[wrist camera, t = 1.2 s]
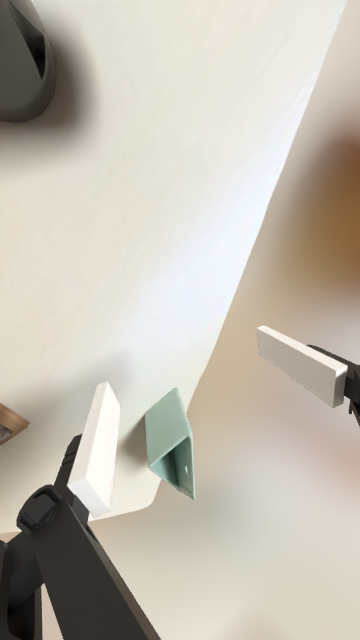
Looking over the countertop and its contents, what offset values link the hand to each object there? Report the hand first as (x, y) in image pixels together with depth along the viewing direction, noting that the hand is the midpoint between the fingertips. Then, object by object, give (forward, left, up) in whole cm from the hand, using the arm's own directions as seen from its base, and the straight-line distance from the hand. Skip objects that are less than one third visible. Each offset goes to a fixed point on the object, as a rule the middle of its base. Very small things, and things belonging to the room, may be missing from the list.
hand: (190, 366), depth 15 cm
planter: (+26, -16, -27) cm, 40 cm away
